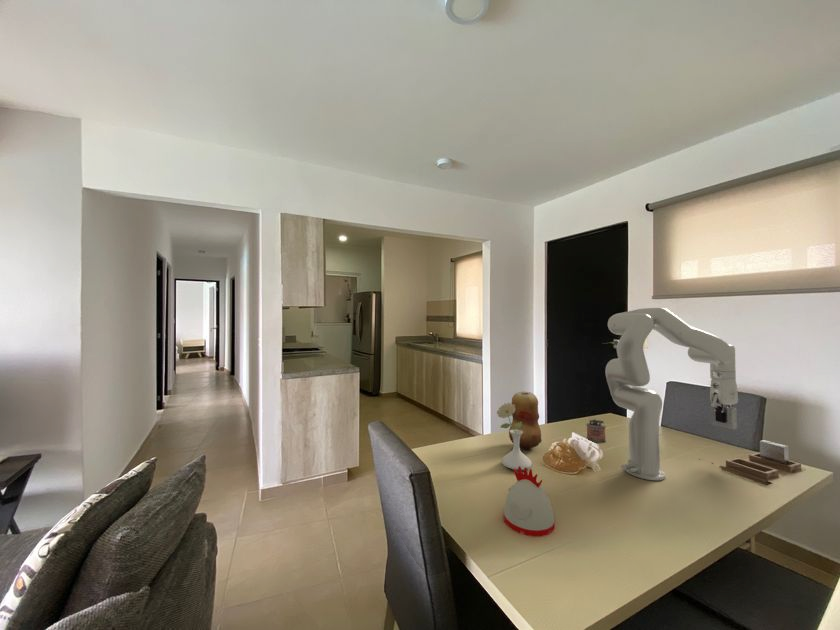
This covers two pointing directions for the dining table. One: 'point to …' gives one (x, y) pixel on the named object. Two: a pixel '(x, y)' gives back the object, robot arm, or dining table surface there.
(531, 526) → the kitchen timer
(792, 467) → the brown flat slotted piece
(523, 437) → the butternut squash
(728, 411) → the billet
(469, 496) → the dining table surface
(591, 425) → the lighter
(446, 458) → the dining table surface
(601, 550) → the dining table surface
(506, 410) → the flower in vase
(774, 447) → the block
